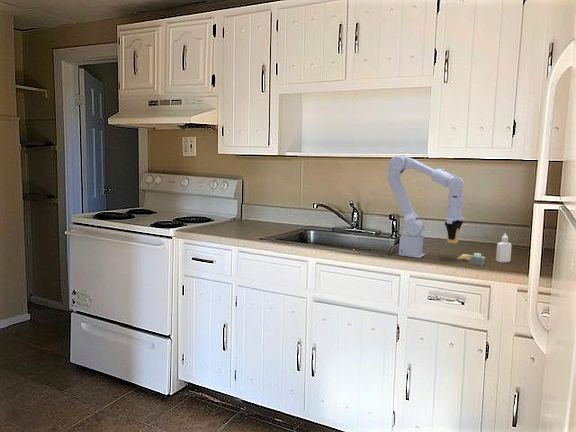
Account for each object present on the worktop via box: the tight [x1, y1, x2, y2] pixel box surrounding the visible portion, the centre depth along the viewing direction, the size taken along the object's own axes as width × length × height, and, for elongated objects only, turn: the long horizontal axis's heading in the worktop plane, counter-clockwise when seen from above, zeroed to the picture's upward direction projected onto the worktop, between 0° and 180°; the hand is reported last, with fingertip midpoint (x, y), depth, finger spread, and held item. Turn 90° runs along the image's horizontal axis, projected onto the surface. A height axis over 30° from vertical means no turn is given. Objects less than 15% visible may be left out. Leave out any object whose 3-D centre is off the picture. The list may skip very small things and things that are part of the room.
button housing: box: [468, 256, 486, 266], centre depth 194 cm, size 5×5×2 cm
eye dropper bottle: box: [495, 232, 512, 264], centre depth 198 cm, size 4×6×12 cm
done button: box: [473, 252, 482, 259], centre depth 194 cm, size 3×3×3 cm
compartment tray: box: [456, 253, 487, 262], centre depth 203 cm, size 10×10×1 cm
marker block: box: [446, 228, 460, 244], centre depth 199 cm, size 4×4×6 cm
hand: (452, 238), depth 200 cm, fingers closed on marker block, 3 cm apart
